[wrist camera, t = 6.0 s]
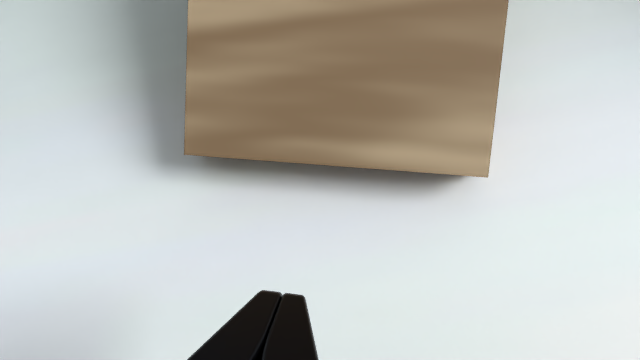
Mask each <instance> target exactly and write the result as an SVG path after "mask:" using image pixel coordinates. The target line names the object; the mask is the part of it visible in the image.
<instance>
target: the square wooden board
mask: <svg viewBox="0 0 640 360" xmlns="http://www.w3.org/2000/svg"><path fill="white" fill-rule="evenodd" d="M507 9H508V0H188V26H187V64H186V102H185V141H184V155H196V156H209V157H222V158H236V159H249V160H262V161H276V162H289V163H302V164H316V165H329V166H342V167H356V168H369V169H383V170H396V171H409V172H423V173H436V174H449V175H463V176H476V177H488V173H489V165H490V156H491V147H492V139H493V130H494V121H495V113H496V104H497V95H498V87H499V78H500V70H501V61H502V52H503V44H504V35H505V26H506V18H507Z"/></svg>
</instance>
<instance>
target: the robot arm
mask: <svg viewBox="0 0 640 360" xmlns="http://www.w3.org/2000/svg"><path fill="white" fill-rule="evenodd" d="M187 360H318V355H317V351H316V346H315V341H314V337H313V332H312V327H311V323H310V318H309V314H308V309H307V304H306V300H305V297H304V296H303V295H298V294H290V293H285V294H284V295H282V294H281V293H280V292H274V291H266V290H262V291H260V292H259V293H257V294H256V295H255V296H254V297H253V298H252V299H251V300H250V301H249V302H248V303H247V304H246V305H245V306H244V307H243V308H242V309H240V310H239V311H238V312H237V313H236V314H235V315H234V316H233V317H232V318H231V319H230V320H229V321H228V322H227V323H226V324H225V325H223V326H222V327H221V328H220V329H219V330H218V331H217V332H216V333H215V334H214V335H213V336H212V337H211V338H210V339H209V340H208V341H206V342H205V343H204V344H203V345H202V346H201V347H200V348H199V349H198V350H197V351H196V352H195V353H194V354H193V355H192V356H191V357H189V358H188V359H187Z"/></svg>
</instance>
